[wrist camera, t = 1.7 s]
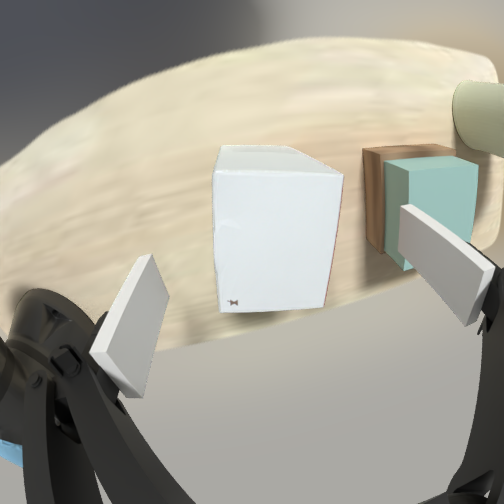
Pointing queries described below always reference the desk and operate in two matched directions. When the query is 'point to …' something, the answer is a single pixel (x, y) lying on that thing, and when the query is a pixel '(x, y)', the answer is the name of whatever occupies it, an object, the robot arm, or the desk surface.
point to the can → (480, 115)
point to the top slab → (429, 196)
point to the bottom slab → (377, 182)
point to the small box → (273, 228)
